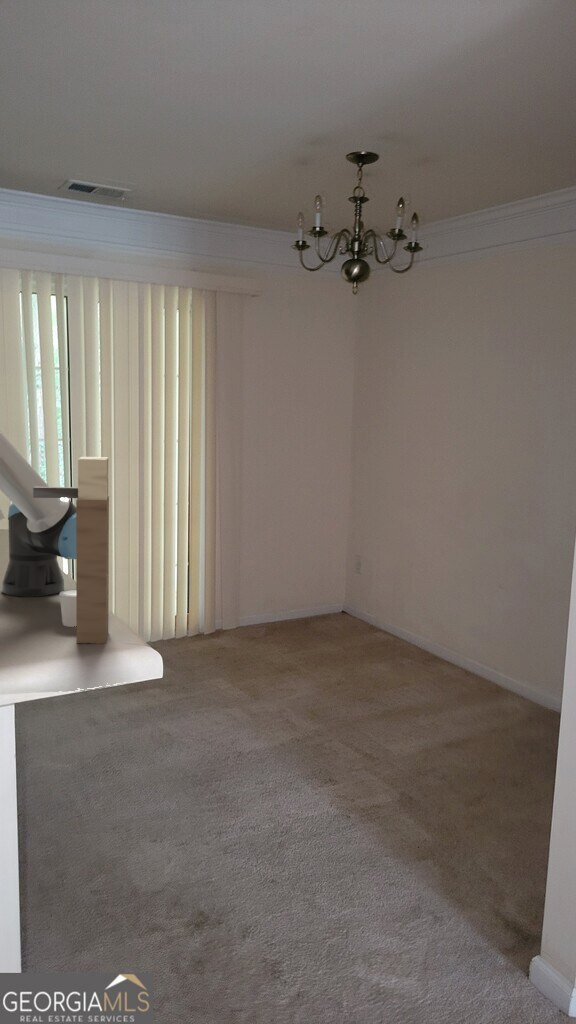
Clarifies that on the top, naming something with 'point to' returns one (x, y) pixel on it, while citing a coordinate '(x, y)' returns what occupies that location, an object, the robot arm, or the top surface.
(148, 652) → the top surface
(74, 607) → the white cup
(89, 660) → the top surface
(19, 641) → the top surface
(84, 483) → the beige wooden block
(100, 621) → the brown wooden tall block
